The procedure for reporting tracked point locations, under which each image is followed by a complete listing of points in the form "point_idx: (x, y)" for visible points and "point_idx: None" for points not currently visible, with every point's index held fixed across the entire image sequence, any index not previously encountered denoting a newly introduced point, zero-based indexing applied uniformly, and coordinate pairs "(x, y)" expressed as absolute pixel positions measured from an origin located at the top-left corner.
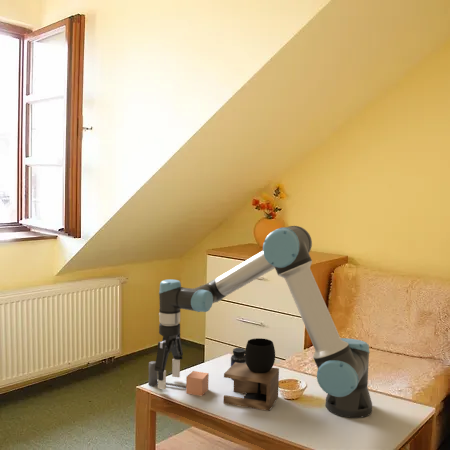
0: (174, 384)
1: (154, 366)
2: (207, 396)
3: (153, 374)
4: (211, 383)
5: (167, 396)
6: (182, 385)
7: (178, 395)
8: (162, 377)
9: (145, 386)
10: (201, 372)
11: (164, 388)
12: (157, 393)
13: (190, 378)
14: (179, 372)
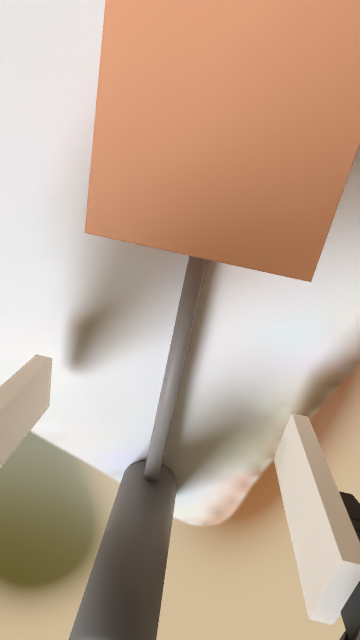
0: (180, 365)
1: (149, 623)
2: None
3: (163, 549)
4: (10, 49)
5: (343, 371)
6: (194, 301)
7: (321, 299)
8: (353, 518)
9: (192, 511)
10: (109, 83)
11: (307, 423)
12: None
13: (328, 219)
14: (20, 374)
